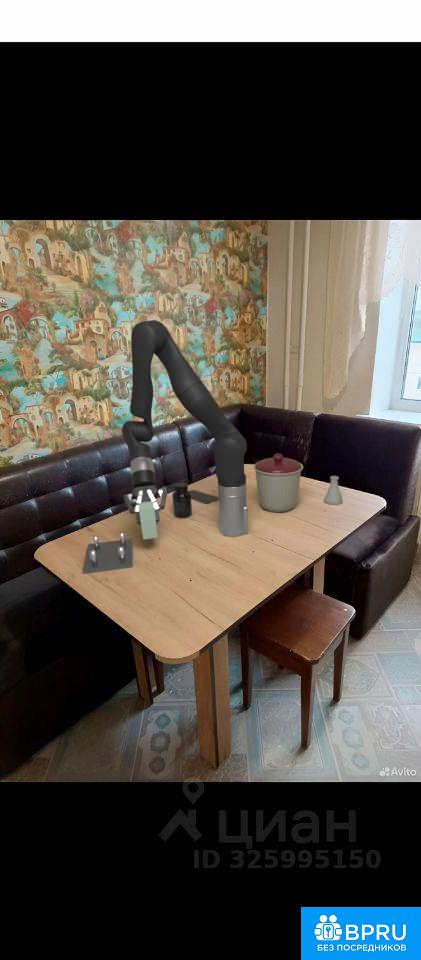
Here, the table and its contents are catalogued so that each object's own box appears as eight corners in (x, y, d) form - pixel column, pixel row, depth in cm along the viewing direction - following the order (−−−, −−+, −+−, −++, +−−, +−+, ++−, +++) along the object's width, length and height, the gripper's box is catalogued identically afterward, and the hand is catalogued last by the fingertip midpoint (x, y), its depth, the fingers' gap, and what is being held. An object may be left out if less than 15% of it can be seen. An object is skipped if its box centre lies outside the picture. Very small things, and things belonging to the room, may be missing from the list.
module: (156, 529, 130) (153, 500, 127) (157, 537, 125) (154, 507, 121) (142, 531, 130) (138, 502, 126) (143, 539, 124) (138, 509, 121)
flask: (327, 496, 162) (328, 473, 159) (345, 500, 158) (347, 475, 155) (320, 502, 157) (321, 478, 153) (339, 506, 153) (340, 481, 149)
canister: (262, 496, 166) (262, 446, 159) (306, 501, 159) (308, 449, 152) (247, 513, 151) (246, 458, 144) (295, 520, 143) (296, 463, 136)
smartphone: (193, 489, 176) (219, 497, 165) (193, 491, 176) (219, 499, 165) (180, 494, 171) (206, 502, 160) (180, 496, 171) (206, 505, 160)
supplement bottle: (180, 510, 156) (177, 480, 153) (195, 512, 153) (193, 482, 149) (170, 516, 151) (167, 486, 147) (186, 519, 148) (183, 489, 144)
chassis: (132, 541, 133) (131, 527, 132) (132, 567, 119) (130, 551, 117) (89, 547, 131) (86, 532, 130) (83, 573, 116) (80, 557, 115)
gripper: (119, 471, 127) (123, 522, 119) (164, 465, 129) (171, 515, 121) (122, 482, 133) (126, 530, 126) (165, 476, 135) (172, 524, 128)
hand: (148, 523), depth 124 cm, fingers closed on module, 4 cm apart
